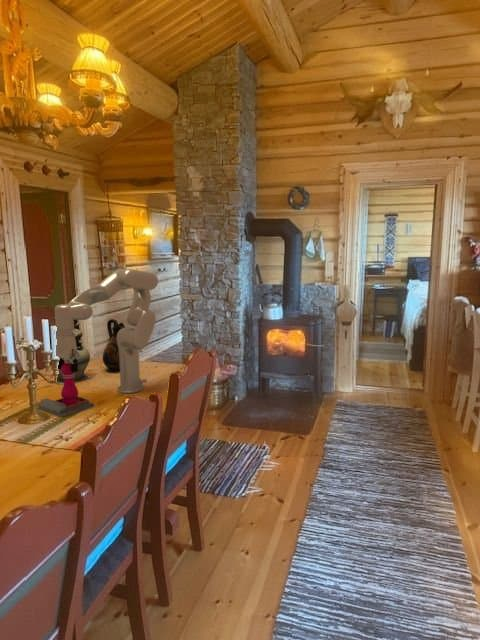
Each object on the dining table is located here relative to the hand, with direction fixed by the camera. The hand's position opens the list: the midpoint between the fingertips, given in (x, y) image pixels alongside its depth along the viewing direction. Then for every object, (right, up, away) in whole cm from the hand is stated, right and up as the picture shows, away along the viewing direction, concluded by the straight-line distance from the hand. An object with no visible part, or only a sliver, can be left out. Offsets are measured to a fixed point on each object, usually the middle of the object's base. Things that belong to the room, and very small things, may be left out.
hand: (67, 370), depth 201 cm
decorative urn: (-16, -10, +46) cm, 50 cm away
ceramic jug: (+4, -7, +64) cm, 64 cm away
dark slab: (-1, -17, +1) cm, 17 cm away
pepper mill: (0, -15, +3) cm, 16 cm away
